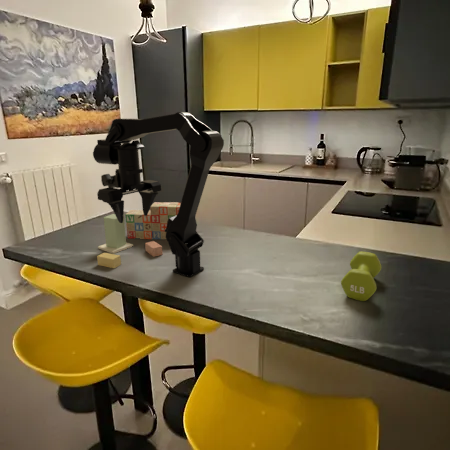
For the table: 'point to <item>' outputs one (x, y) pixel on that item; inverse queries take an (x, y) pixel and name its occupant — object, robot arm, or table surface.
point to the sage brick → (114, 231)
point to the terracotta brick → (153, 248)
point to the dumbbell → (361, 276)
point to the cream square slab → (115, 250)
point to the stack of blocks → (151, 221)
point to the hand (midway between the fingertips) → (133, 219)
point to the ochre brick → (109, 260)
